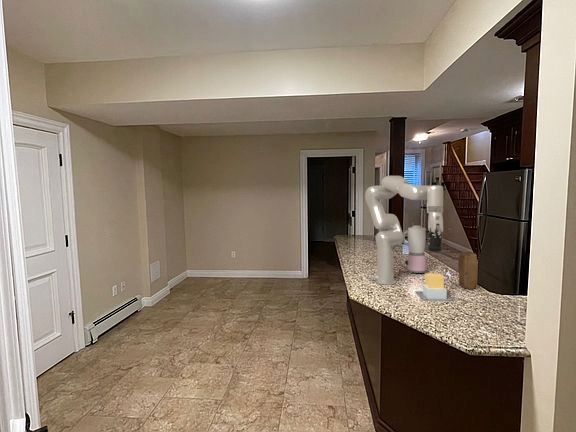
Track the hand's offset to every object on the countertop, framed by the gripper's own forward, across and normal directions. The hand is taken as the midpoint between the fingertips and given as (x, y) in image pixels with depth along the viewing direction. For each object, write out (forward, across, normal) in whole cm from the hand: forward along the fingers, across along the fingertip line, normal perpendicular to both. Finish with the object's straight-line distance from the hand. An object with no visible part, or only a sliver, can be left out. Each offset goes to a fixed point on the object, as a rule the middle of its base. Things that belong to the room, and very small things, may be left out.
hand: (434, 244), depth 168 cm
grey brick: (+27, 0, 0) cm, 27 cm away
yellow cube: (+22, 0, 0) cm, 22 cm away
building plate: (+28, 0, 0) cm, 28 cm away
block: (+28, +22, -24) cm, 43 cm away
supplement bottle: (+4, 0, 0) cm, 4 cm away
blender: (+28, +57, -3) cm, 64 cm away
